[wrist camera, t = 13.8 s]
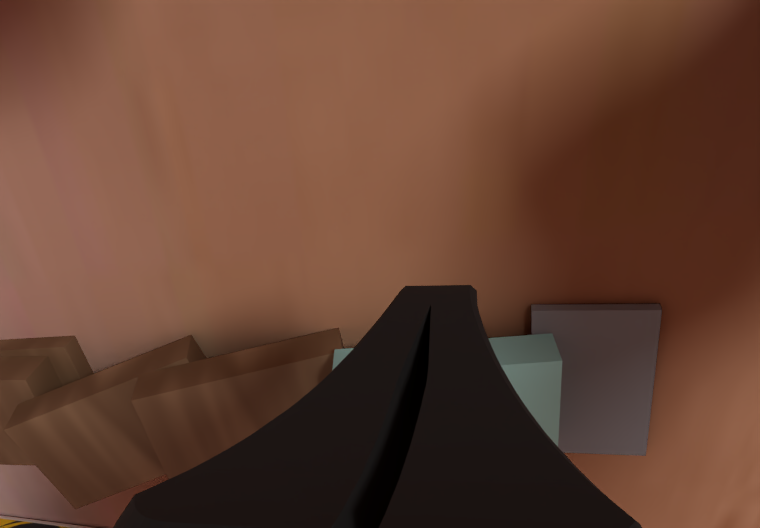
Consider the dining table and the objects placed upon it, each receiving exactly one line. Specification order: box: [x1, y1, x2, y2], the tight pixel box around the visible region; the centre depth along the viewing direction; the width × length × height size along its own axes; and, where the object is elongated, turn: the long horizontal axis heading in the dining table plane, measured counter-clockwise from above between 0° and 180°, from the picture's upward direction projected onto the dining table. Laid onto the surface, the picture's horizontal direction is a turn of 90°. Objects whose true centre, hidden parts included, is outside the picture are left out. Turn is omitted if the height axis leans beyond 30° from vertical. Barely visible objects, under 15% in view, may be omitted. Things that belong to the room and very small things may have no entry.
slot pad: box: [531, 304, 662, 456], centre depth 25 cm, size 4×7×1 cm, turn 6°
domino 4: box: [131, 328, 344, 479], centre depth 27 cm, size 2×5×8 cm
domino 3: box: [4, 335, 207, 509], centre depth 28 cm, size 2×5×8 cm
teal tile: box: [332, 333, 562, 446], centre depth 25 cm, size 2×5×8 cm
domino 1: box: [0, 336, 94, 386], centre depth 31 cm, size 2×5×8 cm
